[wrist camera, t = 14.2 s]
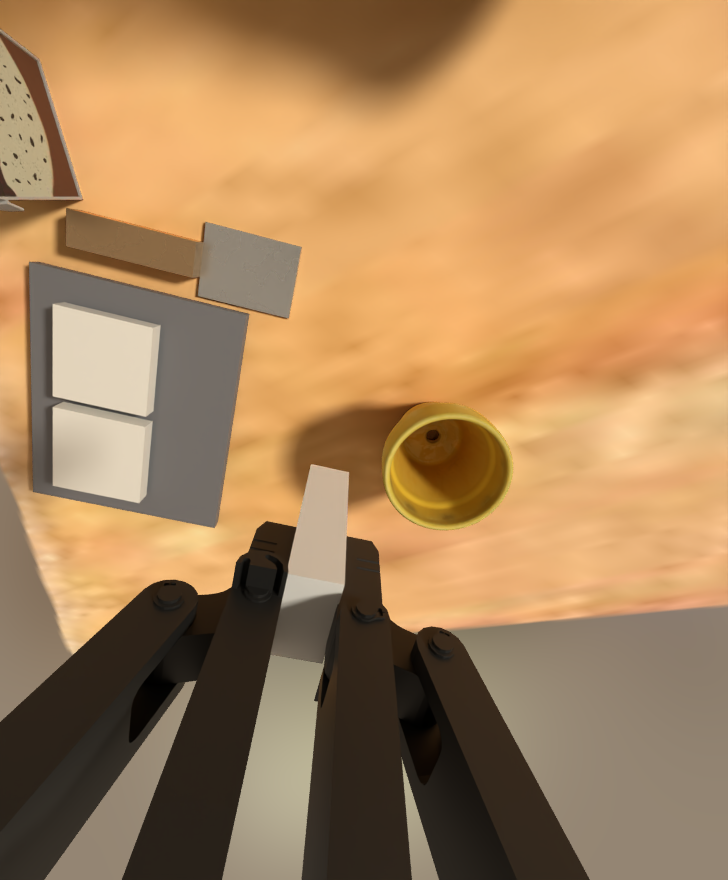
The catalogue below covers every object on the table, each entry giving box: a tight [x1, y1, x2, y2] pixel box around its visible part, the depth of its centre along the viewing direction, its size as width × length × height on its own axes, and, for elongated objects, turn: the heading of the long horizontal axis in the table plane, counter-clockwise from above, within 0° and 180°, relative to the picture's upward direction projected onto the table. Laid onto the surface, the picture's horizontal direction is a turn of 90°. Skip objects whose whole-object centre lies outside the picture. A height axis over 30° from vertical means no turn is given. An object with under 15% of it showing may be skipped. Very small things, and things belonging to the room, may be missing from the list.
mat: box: [29, 262, 249, 528], centre depth 43 cm, size 22×18×1 cm
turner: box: [66, 208, 302, 318], centre depth 38 cm, size 18×6×2 cm, turn 76°
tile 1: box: [53, 302, 161, 417], centre depth 40 cm, size 8×2×8 cm
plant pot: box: [382, 402, 513, 530], centre depth 41 cm, size 10×10×10 cm
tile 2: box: [53, 402, 153, 503], centre depth 43 cm, size 8×2×8 cm
